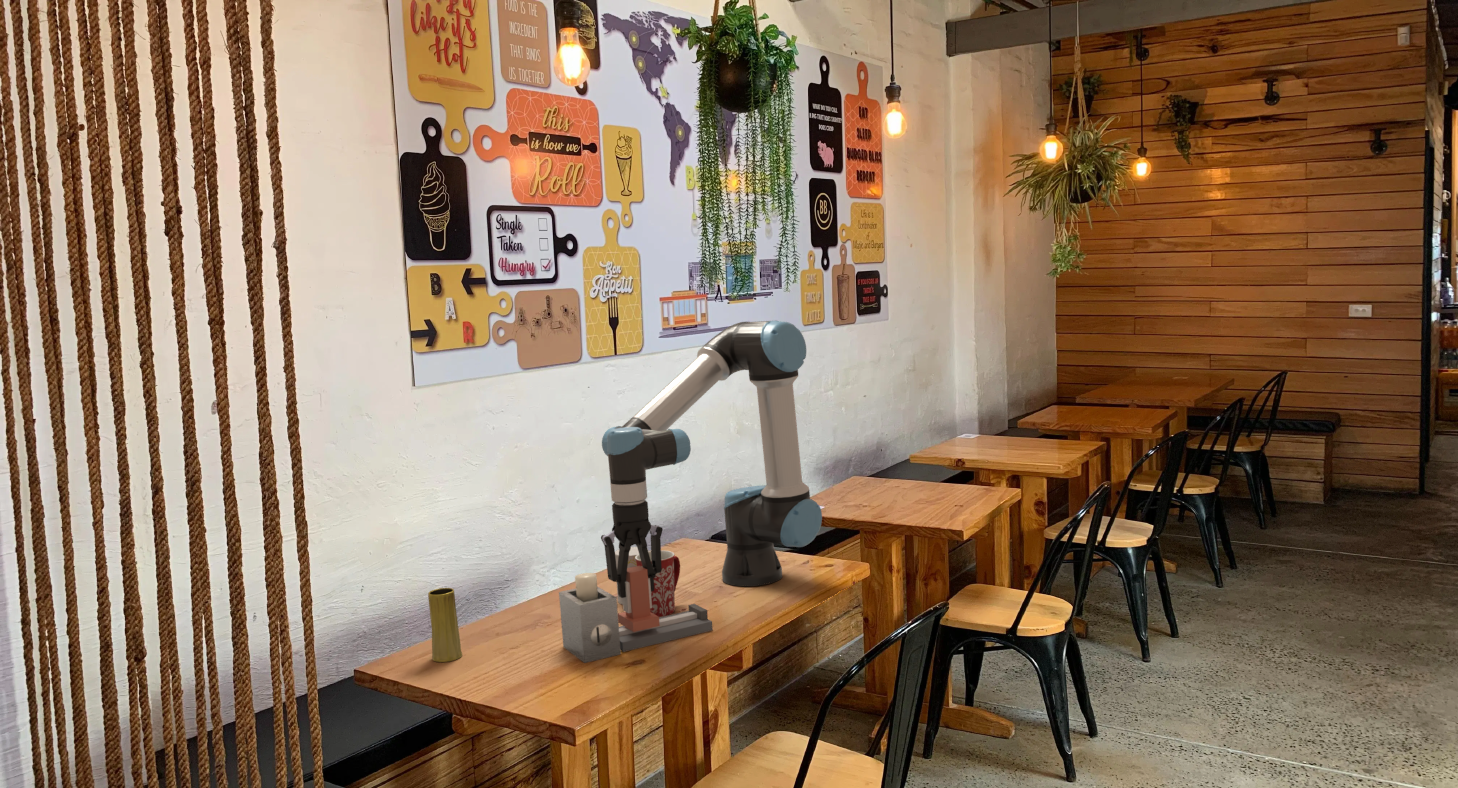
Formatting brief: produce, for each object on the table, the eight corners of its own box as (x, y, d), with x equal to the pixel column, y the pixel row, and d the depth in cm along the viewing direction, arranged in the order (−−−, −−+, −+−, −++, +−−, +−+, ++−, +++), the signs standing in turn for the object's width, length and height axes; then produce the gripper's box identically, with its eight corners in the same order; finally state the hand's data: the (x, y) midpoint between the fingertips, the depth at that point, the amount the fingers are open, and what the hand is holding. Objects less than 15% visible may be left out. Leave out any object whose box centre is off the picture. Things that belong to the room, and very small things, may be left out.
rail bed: (691, 618, 239) (690, 601, 239) (712, 630, 231) (711, 612, 230) (604, 639, 229) (603, 621, 229) (623, 651, 221) (621, 633, 220)
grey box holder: (598, 638, 230) (594, 584, 228) (622, 655, 219) (617, 598, 217) (563, 647, 226) (558, 591, 225) (585, 663, 215) (580, 606, 214)
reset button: (593, 594, 224) (591, 571, 224) (601, 599, 221) (599, 576, 220) (573, 598, 222) (571, 575, 222) (581, 603, 218) (579, 580, 218)
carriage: (643, 616, 232) (639, 562, 231) (659, 625, 225) (655, 570, 224) (618, 622, 230) (614, 568, 228) (633, 631, 223) (629, 575, 221)
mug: (661, 620, 239) (656, 562, 238) (631, 615, 245) (626, 557, 244) (696, 605, 249) (692, 548, 248) (667, 600, 255) (663, 544, 253)
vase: (437, 653, 227) (431, 587, 226) (465, 651, 227) (459, 586, 225) (428, 663, 221) (422, 596, 220) (457, 661, 221) (451, 594, 219)
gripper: (658, 492, 232) (666, 597, 235) (585, 504, 224) (593, 613, 226) (673, 497, 226) (681, 605, 228) (598, 510, 217) (607, 621, 220)
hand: (637, 608), depth 227 cm, fingers closed on carriage, 4 cm apart
